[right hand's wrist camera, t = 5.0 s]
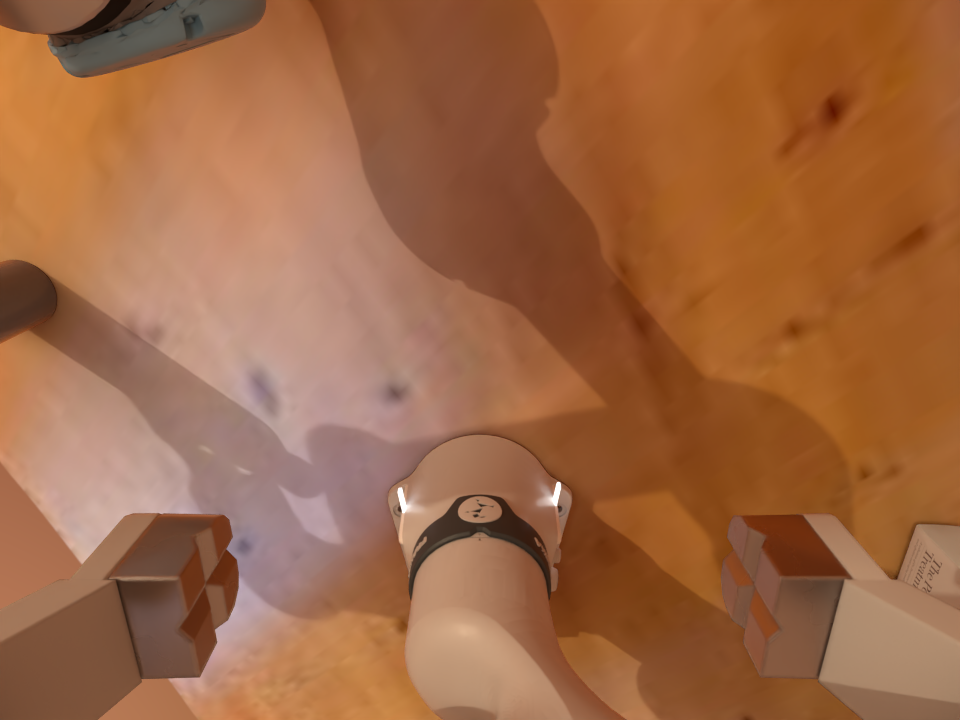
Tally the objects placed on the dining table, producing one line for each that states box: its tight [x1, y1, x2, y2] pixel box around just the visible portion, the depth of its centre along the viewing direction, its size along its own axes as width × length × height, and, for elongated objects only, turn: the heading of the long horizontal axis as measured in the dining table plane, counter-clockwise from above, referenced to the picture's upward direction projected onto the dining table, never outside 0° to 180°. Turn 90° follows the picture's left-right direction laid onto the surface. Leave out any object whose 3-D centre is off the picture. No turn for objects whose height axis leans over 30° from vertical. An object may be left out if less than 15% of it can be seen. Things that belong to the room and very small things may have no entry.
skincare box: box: [897, 524, 960, 610], centre depth 64 cm, size 21×6×16 cm, turn 178°
